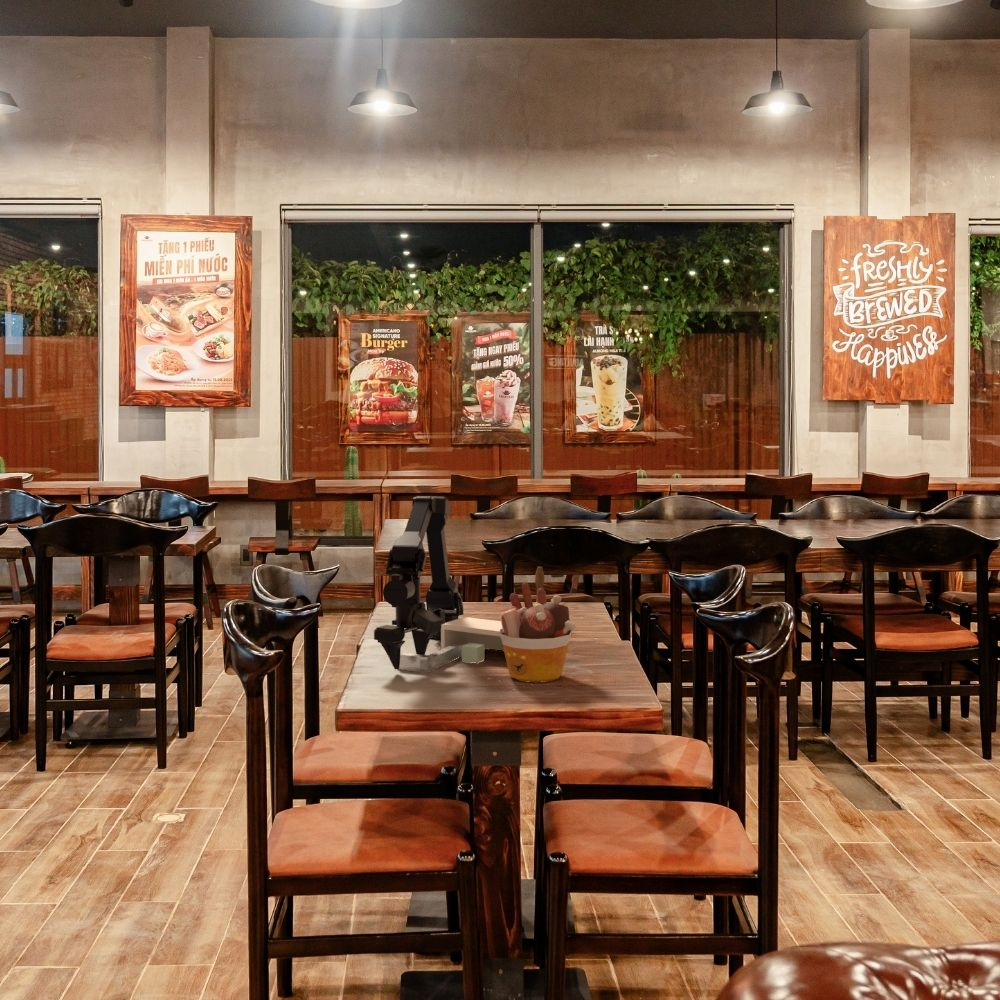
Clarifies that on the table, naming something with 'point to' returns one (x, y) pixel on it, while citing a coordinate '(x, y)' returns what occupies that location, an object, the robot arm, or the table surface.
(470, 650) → the mint cube
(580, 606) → the table surface
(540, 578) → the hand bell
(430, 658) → the pale grey angled bracket
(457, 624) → the low cubby
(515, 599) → the bucket of meat
